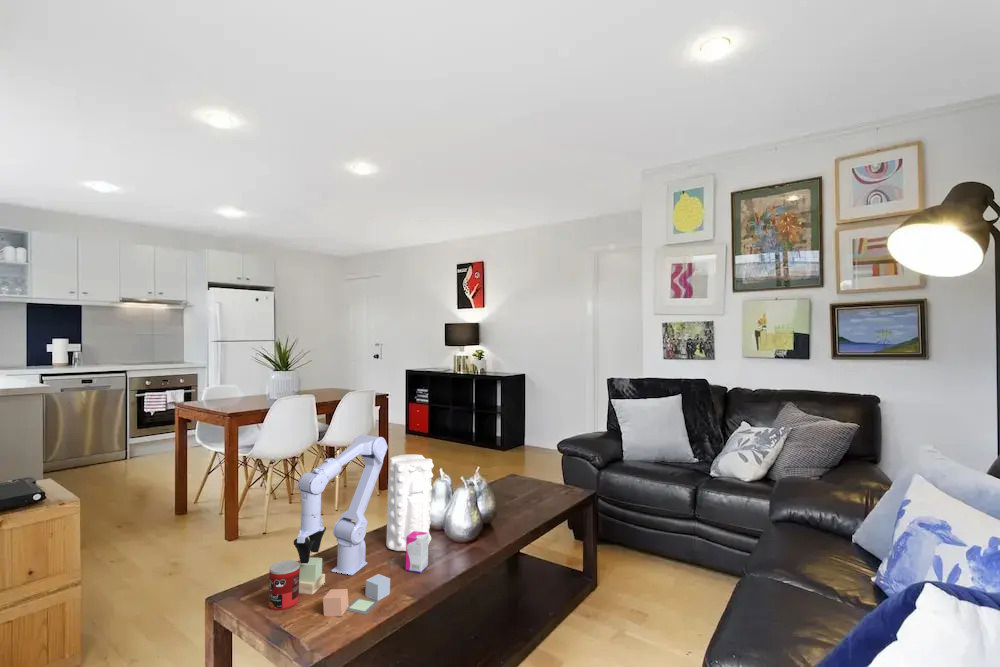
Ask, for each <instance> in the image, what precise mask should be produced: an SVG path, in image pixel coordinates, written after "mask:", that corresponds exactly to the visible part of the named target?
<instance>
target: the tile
mask: <svg viewBox="0 0 1000 667" xmlns="http://www.w3.org/2000/svg"><path fill="white" fill-rule="evenodd" d="M379 603H380V601H376V600H373V599H367V598H362V597H356V598H355V599H354V600H353V601H352V602H351V603H349V607H348V608H347V610H346V611H345V612H351V613H356V614H361V615H365V616H366V615H367V614H368V613H370V612H371V610H373V609H374V608H375V607H376V606H377V605H378V604H379Z"/></svg>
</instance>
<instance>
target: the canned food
mask: <svg viewBox="0 0 1000 667" xmlns="http://www.w3.org/2000/svg"><path fill="white" fill-rule="evenodd" d="M299 564H300V561H296V560H292V559H291V560H290V559H289V560H281V561H277V562H275V563H274V564H272V565H270V567H269V574H268V575H269V576H268V577H269V578H268V607H269V609H270V610H272V611H284V610H285V611H286V610H290V609H292V608H293V607H295V606H297V604H298V602H299V598H300V593H299V575H300V565H299Z"/></svg>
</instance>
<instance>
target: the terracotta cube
mask: <svg viewBox="0 0 1000 667" xmlns="http://www.w3.org/2000/svg"><path fill="white" fill-rule="evenodd" d="M348 592H349V591H348V588H338V589H337V588H334V589H331V588H330V589H329V591H327V593H326V594H325V595H324V596H323V598H322V603H323V604H322V605H323V616H324V617H343V615H344V613H345V612H347V611H346V610H347V608H348V607H349V605H350V603H349V593H348Z"/></svg>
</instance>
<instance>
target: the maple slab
mask: <svg viewBox="0 0 1000 667" xmlns="http://www.w3.org/2000/svg"><path fill="white" fill-rule="evenodd" d="M324 583H325V584H326V573H322V574H321V576H320V577H319V578H318V579H317V581H316V582H305V581H299V594H304V595H313V594H315V593H316V592H317V591H318V590H319V589H320V588H321V587H323V586H324V585H325V584H324ZM322 585H323V586H322Z"/></svg>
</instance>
